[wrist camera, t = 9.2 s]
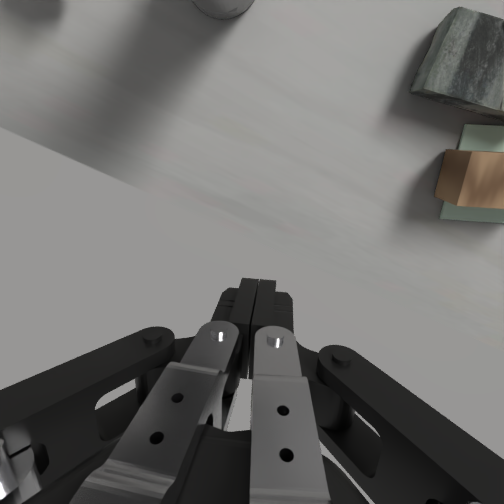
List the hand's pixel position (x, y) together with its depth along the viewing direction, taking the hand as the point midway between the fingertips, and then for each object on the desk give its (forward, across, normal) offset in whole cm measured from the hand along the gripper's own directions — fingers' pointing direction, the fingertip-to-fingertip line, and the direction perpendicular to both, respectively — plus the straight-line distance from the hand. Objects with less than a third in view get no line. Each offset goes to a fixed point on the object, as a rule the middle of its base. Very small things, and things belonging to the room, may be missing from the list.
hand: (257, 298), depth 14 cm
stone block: (+32, -23, -15) cm, 43 cm away
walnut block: (+29, -21, -3) cm, 36 cm away
